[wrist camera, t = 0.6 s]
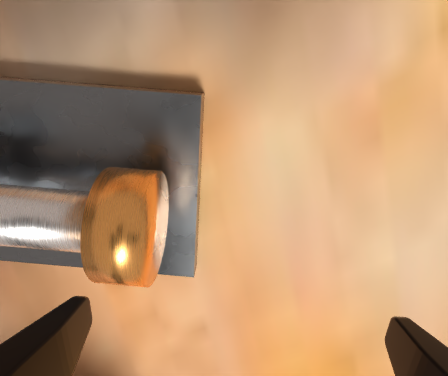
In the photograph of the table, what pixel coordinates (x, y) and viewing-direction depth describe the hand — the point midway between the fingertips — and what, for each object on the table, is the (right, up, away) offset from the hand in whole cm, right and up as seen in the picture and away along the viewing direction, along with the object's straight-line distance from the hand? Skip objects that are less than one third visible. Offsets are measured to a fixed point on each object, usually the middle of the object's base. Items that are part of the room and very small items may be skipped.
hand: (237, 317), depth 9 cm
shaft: (-12, +4, +9) cm, 15 cm away
